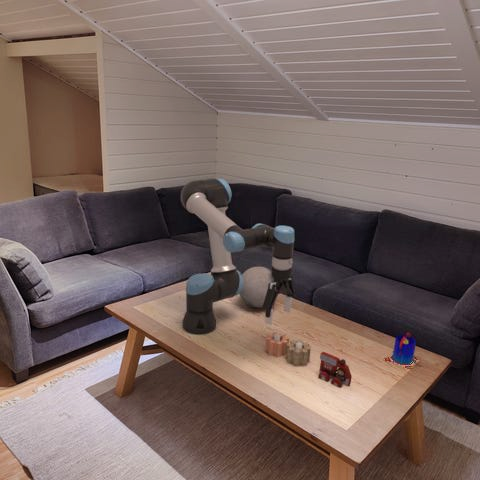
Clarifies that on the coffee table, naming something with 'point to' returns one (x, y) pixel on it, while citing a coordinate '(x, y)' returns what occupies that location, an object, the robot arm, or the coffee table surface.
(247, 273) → the moon model
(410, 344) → the fantasy tower
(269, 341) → the loose gear
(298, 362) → the gear
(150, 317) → the coffee table surface
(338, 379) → the toy fire truck
